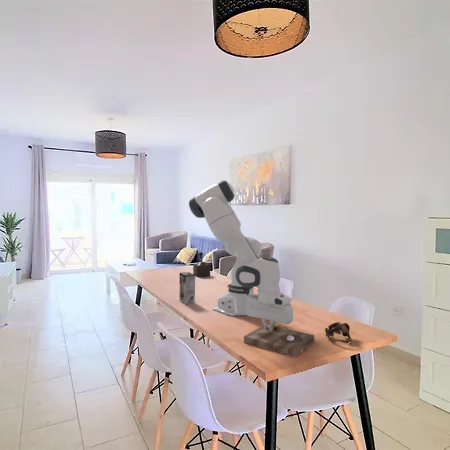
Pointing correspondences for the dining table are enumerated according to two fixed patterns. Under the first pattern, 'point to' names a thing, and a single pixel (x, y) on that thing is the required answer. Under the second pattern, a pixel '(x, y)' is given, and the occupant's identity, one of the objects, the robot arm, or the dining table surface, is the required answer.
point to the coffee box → (187, 287)
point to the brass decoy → (276, 325)
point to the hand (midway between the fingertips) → (268, 330)
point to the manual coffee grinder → (201, 268)
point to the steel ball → (290, 338)
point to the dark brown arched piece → (339, 330)
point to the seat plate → (279, 340)
